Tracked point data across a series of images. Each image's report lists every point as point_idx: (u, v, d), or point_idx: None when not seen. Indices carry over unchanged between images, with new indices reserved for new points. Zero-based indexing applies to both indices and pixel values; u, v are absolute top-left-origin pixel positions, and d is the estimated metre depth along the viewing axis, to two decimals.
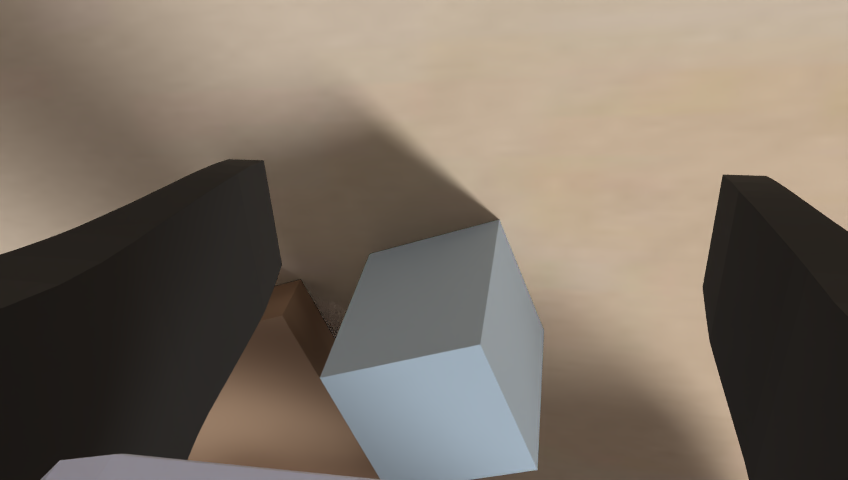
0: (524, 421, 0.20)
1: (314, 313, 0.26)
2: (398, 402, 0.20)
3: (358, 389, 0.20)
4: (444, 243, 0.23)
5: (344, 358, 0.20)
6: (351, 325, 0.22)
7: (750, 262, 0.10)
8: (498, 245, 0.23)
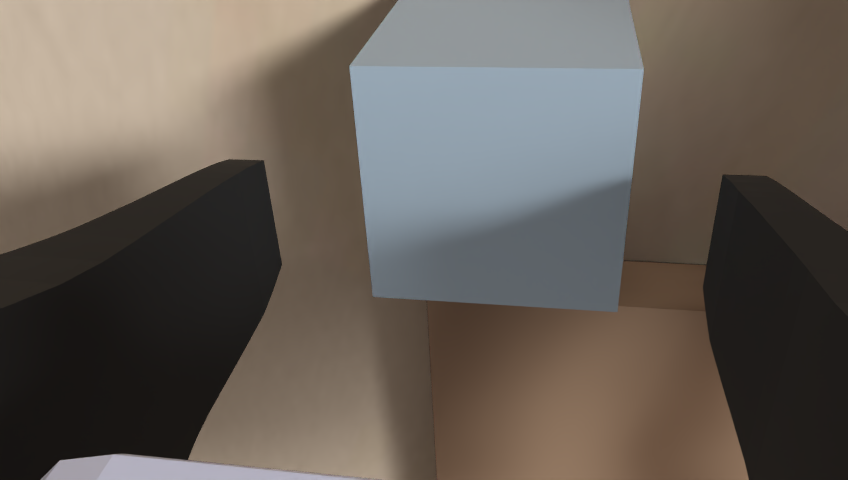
0: (561, 54, 0.12)
1: None
2: (437, 221, 0.13)
3: (402, 260, 0.14)
4: None
5: None
6: None
7: (750, 263, 0.10)
8: None
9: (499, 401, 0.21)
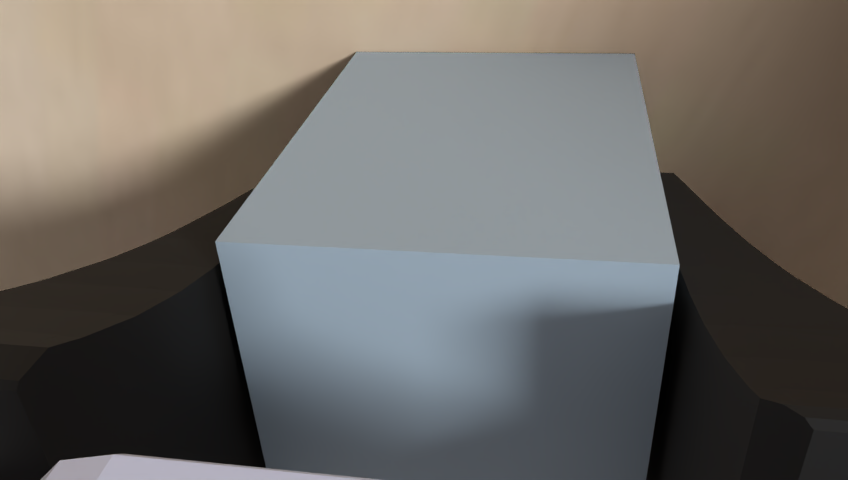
0: (546, 224, 0.08)
1: None
2: (365, 447, 0.09)
3: None
4: None
5: None
6: None
7: None
8: (350, 77, 0.12)
9: None
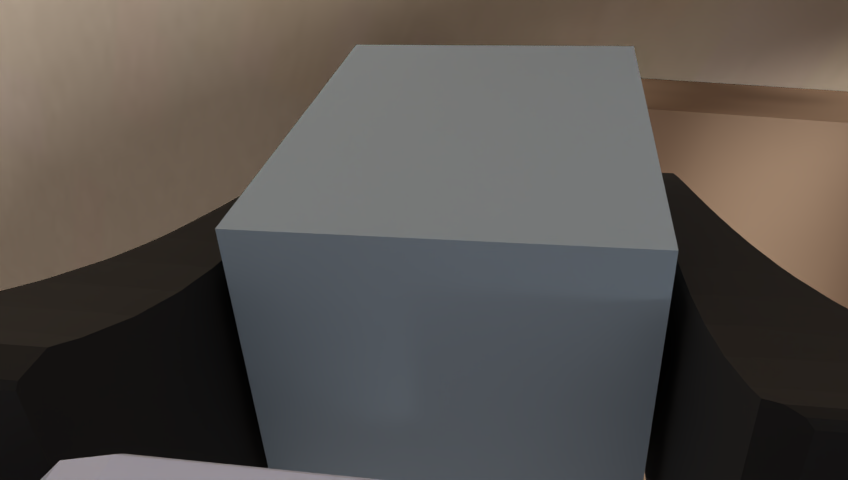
0: (545, 211, 0.08)
1: None
2: (364, 436, 0.09)
3: None
4: None
5: None
6: None
7: None
8: (349, 69, 0.12)
9: None
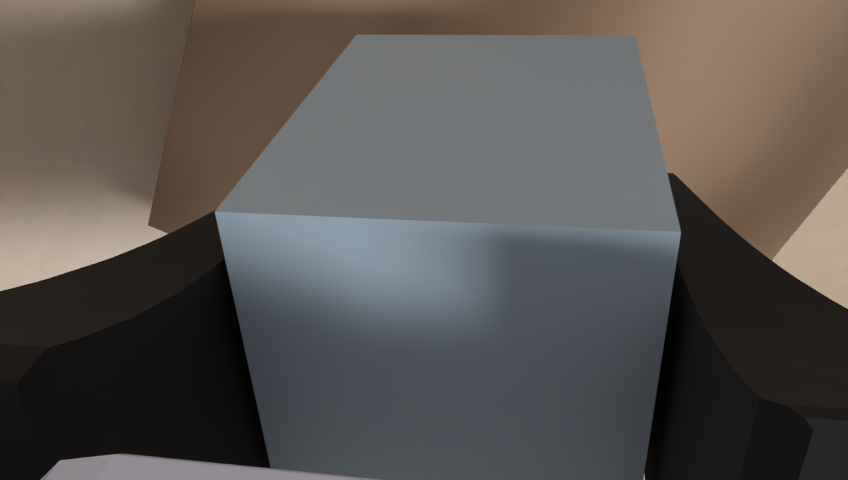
0: (547, 194, 0.08)
1: None
2: (364, 423, 0.09)
3: (318, 468, 0.09)
4: None
5: None
6: None
7: None
8: (350, 58, 0.12)
9: None
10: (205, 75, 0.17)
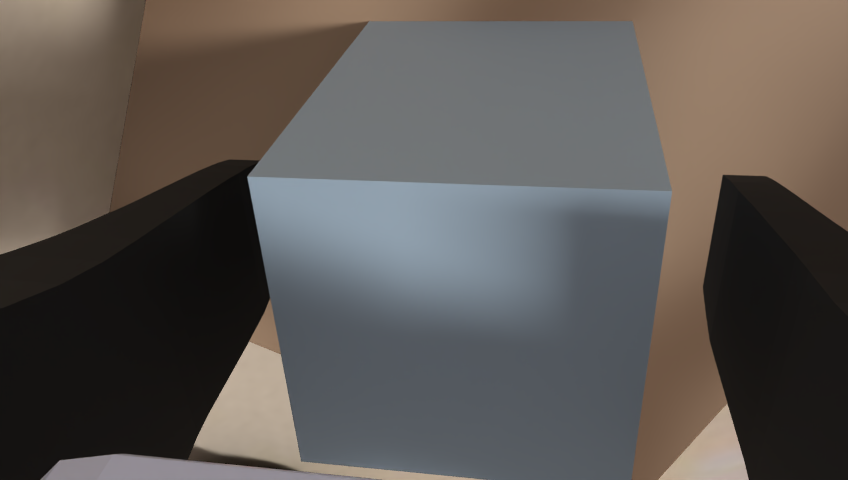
0: (551, 160, 0.08)
1: None
2: (382, 375, 0.10)
3: (337, 420, 0.10)
4: None
5: None
6: None
7: (750, 262, 0.10)
8: (364, 42, 0.12)
9: None
10: (154, 118, 0.15)
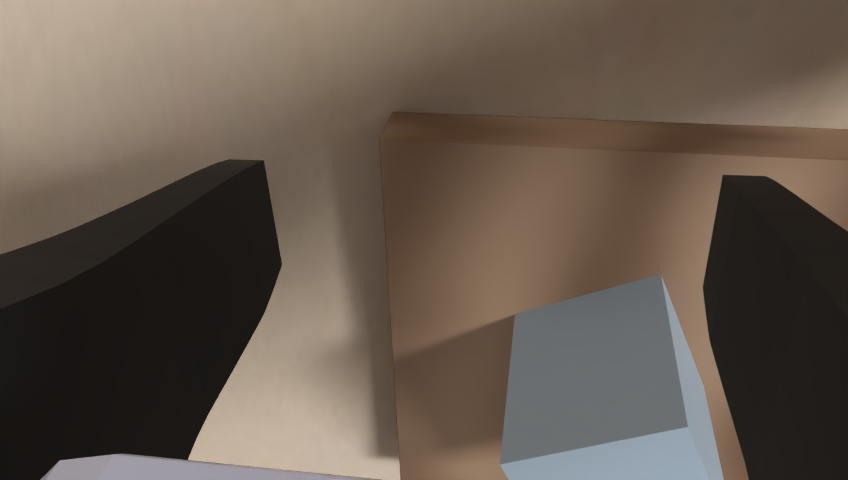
0: (631, 418, 0.18)
1: (433, 117, 0.22)
2: None
3: None
4: None
5: None
6: None
7: (749, 262, 0.10)
8: (518, 337, 0.22)
9: (446, 249, 0.23)
10: (411, 391, 0.26)
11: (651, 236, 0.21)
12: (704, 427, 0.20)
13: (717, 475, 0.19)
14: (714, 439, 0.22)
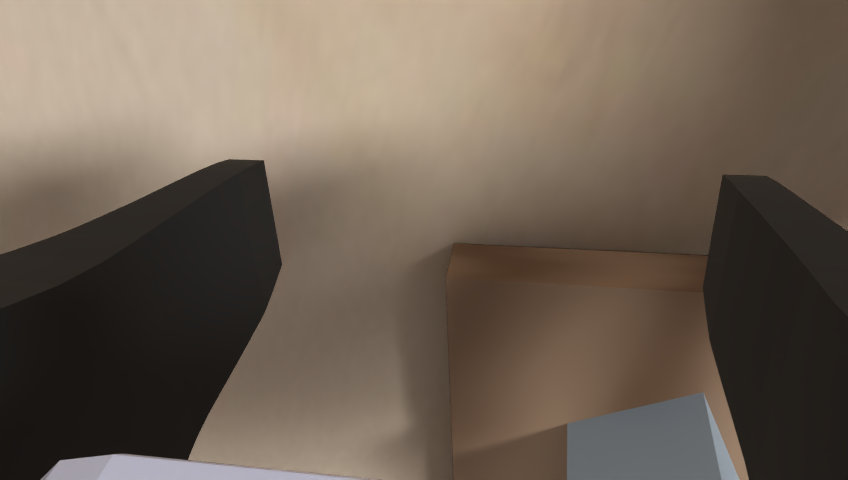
0: None
1: (492, 250, 0.24)
2: None
3: None
4: None
5: None
6: None
7: (750, 263, 0.10)
8: (572, 449, 0.24)
9: (505, 368, 0.25)
10: None
11: (694, 360, 0.23)
12: None
13: None
14: None
